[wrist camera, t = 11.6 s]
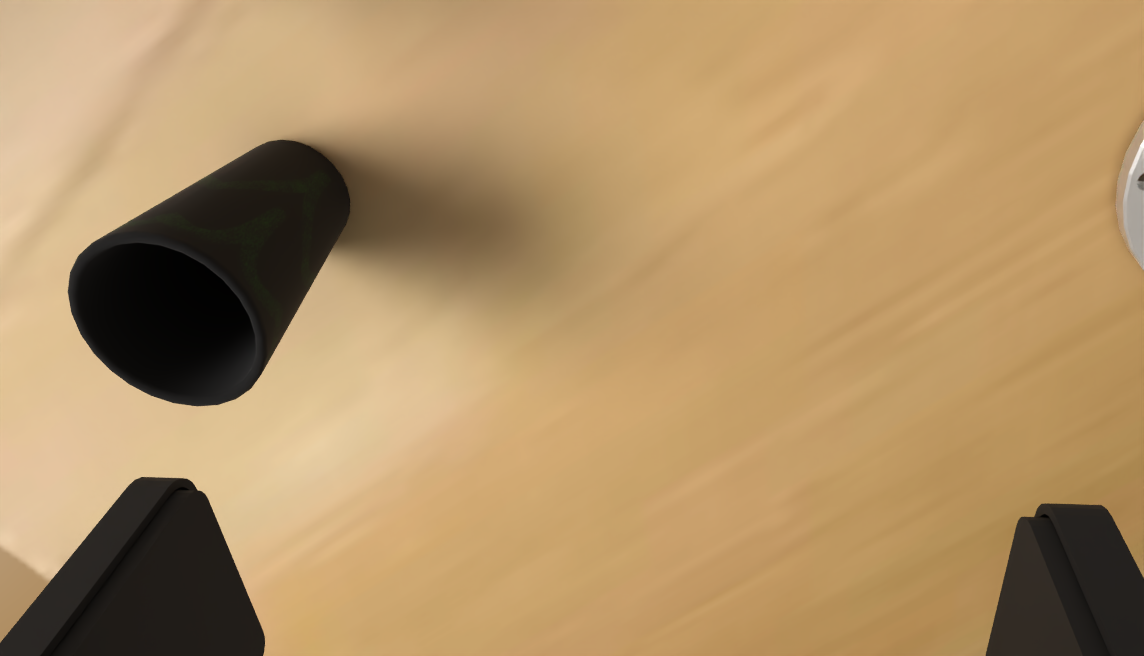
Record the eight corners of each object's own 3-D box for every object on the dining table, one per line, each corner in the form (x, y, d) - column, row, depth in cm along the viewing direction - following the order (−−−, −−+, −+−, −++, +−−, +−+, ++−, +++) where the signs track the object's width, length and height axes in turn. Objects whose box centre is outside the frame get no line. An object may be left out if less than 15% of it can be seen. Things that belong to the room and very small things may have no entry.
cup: (365, 127, 41) (249, 247, 31) (376, 272, 45) (277, 419, 35) (206, 110, 41) (41, 222, 31) (231, 254, 45) (93, 394, 35)
